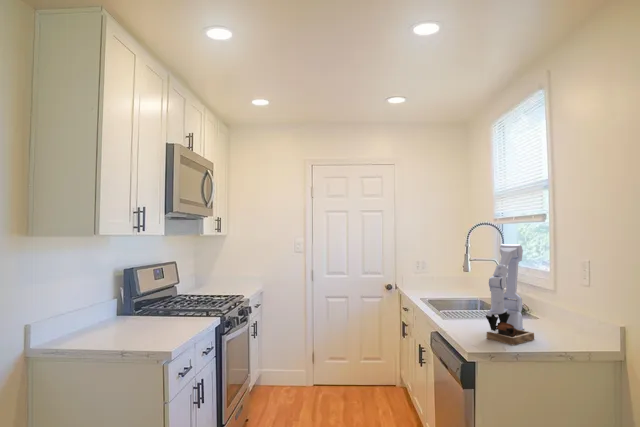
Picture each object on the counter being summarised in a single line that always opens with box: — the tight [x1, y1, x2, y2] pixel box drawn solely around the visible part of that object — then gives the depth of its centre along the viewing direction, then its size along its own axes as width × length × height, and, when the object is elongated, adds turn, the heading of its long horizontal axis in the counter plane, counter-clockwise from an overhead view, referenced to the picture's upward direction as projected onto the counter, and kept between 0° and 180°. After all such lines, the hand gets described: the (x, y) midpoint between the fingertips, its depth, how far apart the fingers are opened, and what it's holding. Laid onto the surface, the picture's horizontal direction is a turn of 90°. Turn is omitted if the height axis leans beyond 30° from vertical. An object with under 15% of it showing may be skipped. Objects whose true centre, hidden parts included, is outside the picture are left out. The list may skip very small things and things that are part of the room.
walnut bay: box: [486, 329, 535, 346], centre depth 195 cm, size 17×14×3 cm
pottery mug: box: [496, 321, 517, 337], centre depth 195 cm, size 12×10×8 cm
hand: (498, 329), depth 200 cm, fingers open, 7 cm apart
